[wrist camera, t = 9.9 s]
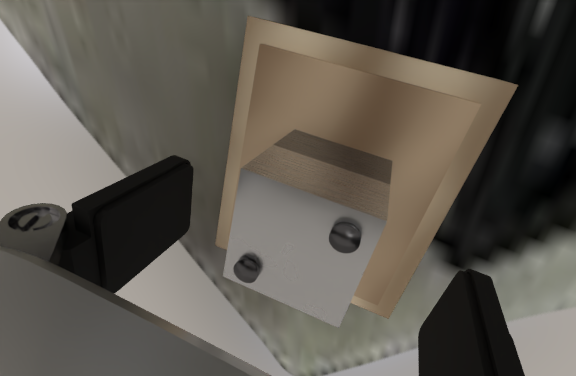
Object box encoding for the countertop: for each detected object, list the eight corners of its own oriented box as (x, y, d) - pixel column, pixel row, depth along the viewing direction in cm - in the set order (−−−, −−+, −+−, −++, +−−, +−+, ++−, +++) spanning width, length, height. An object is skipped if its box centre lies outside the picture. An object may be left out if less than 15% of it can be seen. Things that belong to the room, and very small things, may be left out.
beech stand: (500, 79, 15) (521, 86, 12) (389, 290, 21) (388, 323, 18) (268, 20, 17) (243, 14, 14) (233, 226, 23) (212, 248, 21)
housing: (392, 160, 15) (386, 226, 9) (358, 243, 17) (337, 334, 11) (294, 129, 16) (236, 170, 10) (274, 210, 18) (218, 281, 12)
